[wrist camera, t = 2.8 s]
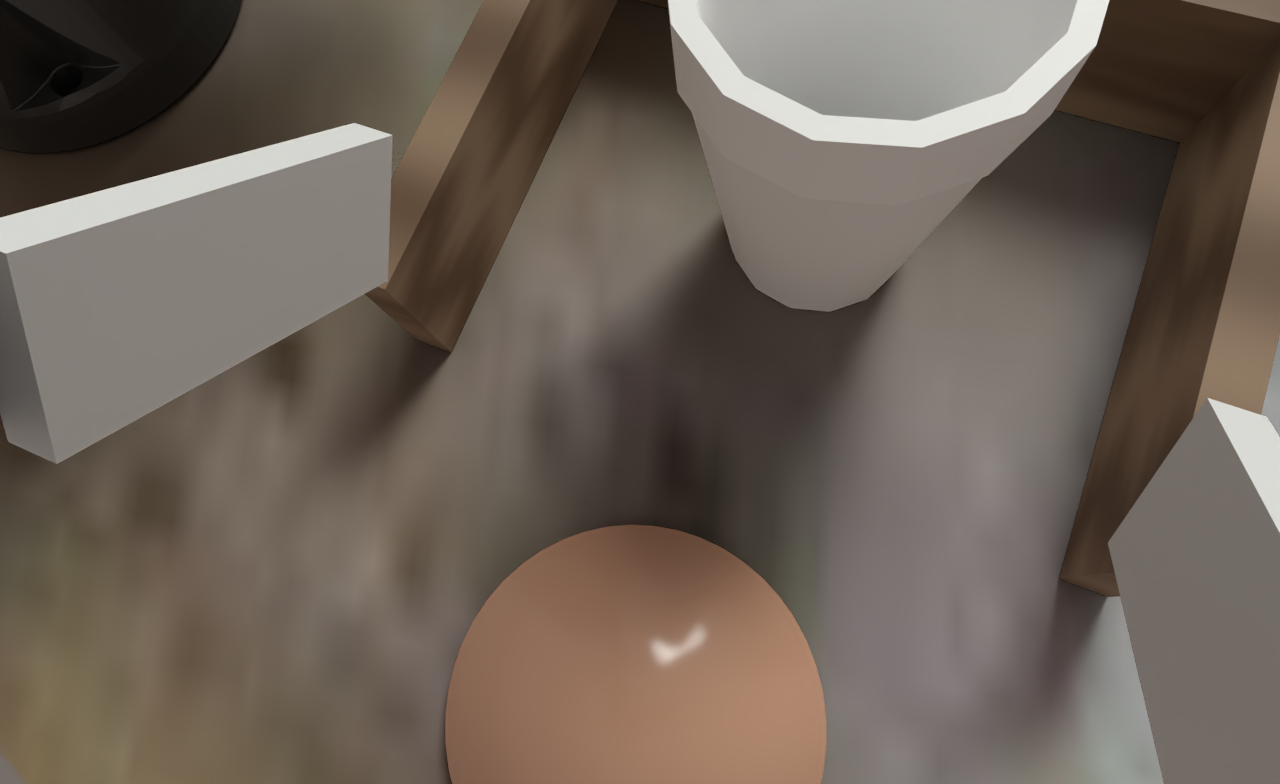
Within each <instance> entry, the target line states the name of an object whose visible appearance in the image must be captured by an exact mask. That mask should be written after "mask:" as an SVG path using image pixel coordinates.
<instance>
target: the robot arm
mask: <svg viewBox="0 0 1280 784" xmlns="http://www.w3.org/2000/svg"><path fill="white" fill-rule="evenodd" d="M240 4H241V0H0V148H3V149H8V150H13V151H19V152H29V153H52V152H62V151H69V150H75V149H79V148H84V147H88V146H91V145H94V144H98V143H101V142H104V141H106V140H109V139H112V138H114V137H117V136H119V135H121V134H124V133H126V132H128V131H130V130H132V129H134V128H136V127H137V126H139V125H141V124H143V123H144V122H146V121H148V120H149V119H151V118H152V117H154V116H155V115H157V114H158V113H160V112H161V111H163V110H164V109H165V108H167V107H168V106H169V105H171V104H172V103H173V102H174V101H175V100H177V99H178V98H179V97H180V96H181V95H182V94H183V93H185V92H186V91H187V90H188V89H189V88H190V87H191V86H192V85H193V84H194V83H195V82H196V81H197V79H198V78H199V77H200V76H201V75H202V74H203V73H204V71H205V70H206V69H207V68H208V67H209V65H210V64H211V62H212V61H213V60H214V58H215V57H216V55H217V54H218V52H219V51H220V49H221V48H222V46H223V44H224V42H225V41H226V39H227V37H228V35H229V33H230V31H231V29H232V27H233V24H234V22H235V19H236V17H237V14H238V11H239V7H240ZM392 138H393V135H390V134H387V133H384V132H381V131H378V130H375V129H372V128H369V127H366V126H362V125H359V124H356V123H352V124H348V125H345V126H341V127H337V128H333V129H330V130H326V131H322V132H318V133H315V134H311V135H307V136H303V137H300V138H296V139H292V140H289V141H285V142H281V143H277V144H274V145H270V146H266V147H262V148H259V149H255V150H251V151H247V152H244V153H240V154H236V155H232V156H229V157H225V158H221V159H217V160H214V161H210V162H206V163H202V164H199V165H195V166H191V167H188V168H184V169H180V170H176V171H173V172H169V173H165V174H161V175H158V176H154V177H150V178H146V179H143V180H139V181H135V182H131V183H128V184H124V185H120V186H116V187H113V188H109V189H105V190H101V191H98V192H94V193H90V194H87V195H83V196H79V197H75V198H72V199H68V200H64V201H60V202H57V203H53V204H49V205H45V206H42V207H38V208H34V209H30V210H27V211H23V212H19V213H15V214H12V215H8V216H4V217H0V415H1V419H2V422H3V426H4V429H5V433H6V437H7V440H8V442H9V443H12V444H14V445H16V446H18V447H20V448H23V449H25V450H27V451H29V452H31V453H33V454H36V455H38V456H40V457H42V458H44V459H47V460H49V461H51V462H53V463H55V464H58V463H60V462H62V461H63V460H65V459H67V458H69V457H71V456H72V455H74V454H76V453H78V452H80V451H81V450H83V449H85V448H87V447H89V446H90V445H92V444H94V443H96V442H98V441H100V440H101V439H103V438H105V437H107V436H109V435H110V434H112V433H114V432H116V431H118V430H119V429H121V428H123V427H125V426H127V425H128V424H130V423H132V422H134V421H136V420H137V419H139V418H141V417H143V416H145V415H146V414H148V413H150V412H152V411H154V410H156V409H157V408H159V407H161V406H163V405H165V404H166V403H168V402H170V401H172V400H174V399H175V398H177V397H179V396H181V395H183V394H184V393H186V392H188V391H190V390H192V389H193V388H195V387H197V386H199V385H201V384H203V383H204V382H206V381H208V380H210V379H212V378H213V377H215V376H217V375H219V374H221V373H222V372H224V371H226V370H228V369H230V368H231V367H233V366H235V365H237V364H239V363H240V362H242V361H244V360H246V359H248V358H249V357H251V356H253V355H255V354H257V353H259V352H260V351H262V350H264V349H266V348H268V347H269V346H271V345H273V344H275V343H277V342H278V341H280V340H282V339H284V338H286V337H287V336H289V335H291V334H293V333H295V332H296V331H298V330H300V329H302V328H304V327H305V326H307V325H309V324H311V323H313V322H315V321H316V320H318V319H320V318H322V317H324V316H325V315H327V314H329V313H331V312H333V311H334V310H336V309H338V308H340V307H342V306H343V305H345V304H347V303H349V302H351V301H352V300H354V299H356V298H358V297H360V296H362V295H363V294H365V293H367V292H369V291H371V290H372V289H374V288H376V287H378V286H380V285H381V284H383V283H385V282H387V281H388V264H389V232H390V201H391V169H392ZM1108 546H1109V550H1110V554H1111V559H1112V563H1113V567H1114V572H1115V576H1116V580H1117V584H1118V589H1119V593H1120V597H1121V602H1122V606H1123V610H1124V614H1125V619H1126V623H1127V627H1128V632H1129V636H1130V640H1131V645H1132V649H1133V653H1134V657H1135V662H1136V666H1137V670H1138V675H1139V679H1140V683H1141V687H1142V692H1143V696H1144V700H1145V705H1146V709H1147V713H1148V717H1149V722H1150V726H1151V730H1152V735H1153V739H1154V743H1155V748H1156V752H1157V756H1158V760H1159V765H1160V769H1161V773H1162V778H1163V782H1164V784H1280V437H1279V435H1278V434H1277V432H1276V431H1275V429H1274V428H1273V426H1272V424H1271V423H1270V421H1269V420H1268V418H1267V417H1266V416H1263V415H1260V414H1256V413H1253V412H1250V411H1247V410H1244V409H1241V408H1238V407H1235V406H1232V405H1228V404H1225V403H1222V402H1219V401H1216V400H1213V399H1210V398H1207V399H1206V400H1205V402H1204V403H1203V405H1202V406H1201V408H1200V409H1199V410H1198V412H1197V413H1196V415H1195V416H1194V418H1193V419H1192V421H1191V422H1190V424H1189V425H1188V426H1187V428H1186V429H1185V431H1184V432H1183V434H1182V435H1181V437H1180V438H1179V440H1178V441H1177V443H1176V444H1175V445H1174V447H1173V448H1172V450H1171V451H1170V453H1169V454H1168V456H1167V457H1166V459H1165V460H1164V462H1163V463H1162V464H1161V466H1160V467H1159V469H1158V470H1157V472H1156V473H1155V475H1154V476H1153V478H1152V479H1151V480H1150V482H1149V483H1148V485H1147V486H1146V488H1145V489H1144V491H1143V492H1142V494H1141V495H1140V497H1139V498H1138V499H1137V501H1136V502H1135V504H1134V505H1133V507H1132V508H1131V510H1130V511H1129V513H1128V514H1127V516H1126V517H1125V518H1124V520H1123V521H1122V523H1121V524H1120V526H1119V527H1118V529H1117V530H1116V532H1115V533H1114V535H1113V536H1112V537H1111V539H1110V540H1109V542H1108Z"/></svg>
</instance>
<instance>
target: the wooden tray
mask: <svg viewBox="0 0 1280 784" xmlns="http://www.w3.org/2000/svg"><path fill="white" fill-rule="evenodd" d="M617 1H618V0H484V1H483V3H482V5H481V7H480V9H479V11H478V13H477V15H476V17H475V18H474V20H473V22H472V24H471V26H470V28H469V30H468V32H467V34H466V36H465V38H464V40H463V42H462V44H461V46H460V47H459V49H458V51H457V53H456V55H455V57H454V59H453V61H452V63H451V65H450V67H449V69H448V71H447V73H446V75H445V77H444V78H443V80H442V82H441V84H440V86H439V88H438V90H437V92H436V94H435V96H434V98H433V100H432V102H431V104H430V106H429V107H428V109H427V111H426V113H425V115H424V117H423V119H422V121H421V123H420V125H419V127H418V129H417V131H416V133H415V135H414V136H413V138H412V140H411V142H410V144H409V146H408V148H407V150H406V152H405V154H404V156H403V158H402V160H401V162H400V164H399V165H398V167H397V169H396V171H395V173H394V175H393V177H392V179H391V201H390V232H389V264H388V281H387V282H385V283H383V284H381V285H380V286H378V287H376V288H374V289H372V290H371V291H369V292H367V293H365V294H366V295H367V296H368V297H369V298H370V299H371V300H372V301H373V302H375V303H376V304H377V305H378V306H379V307H380V308H381V309H382V310H384V311H385V312H386V313H387V314H388V315H389V316H390V317H391V318H393V319H394V320H395V321H396V322H397V323H398V324H399V325H400V326H402V327H403V328H404V329H405V330H406V331H407V332H408V333H409V334H411V335H412V336H413V337H414V338H415V339H417V340H419V341H422V342H425V343H427V344H430V345H433V346H435V347H438V348H441V349H443V350H446V351H449V352H452V350H453V348H454V345H455V343H456V341H457V339H458V337H459V335H460V333H461V331H462V329H463V326H464V324H465V322H466V320H467V318H468V316H469V314H470V312H471V310H472V307H473V305H474V303H475V301H476V299H477V297H478V295H479V293H480V291H481V288H482V286H483V284H484V282H485V280H486V278H487V276H488V274H489V272H490V269H491V267H492V265H493V263H494V261H495V259H496V257H497V255H498V253H499V250H500V248H501V246H502V244H503V242H504V240H505V238H506V236H507V233H508V231H509V229H510V227H511V225H512V223H513V221H514V219H515V217H516V214H517V212H518V210H519V208H520V206H521V204H522V202H523V200H524V198H525V195H526V193H527V191H528V189H529V187H530V185H531V183H532V181H533V179H534V176H535V174H536V172H537V170H538V168H539V166H540V164H541V162H542V160H543V157H544V155H545V153H546V151H547V149H548V147H549V145H550V143H551V141H552V138H553V136H554V134H555V132H556V130H557V128H558V126H559V124H560V121H561V119H562V117H563V115H564V113H565V111H566V109H567V107H568V105H569V102H570V100H571V98H572V96H573V94H574V92H575V90H576V88H577V86H578V83H579V81H580V79H581V77H582V75H583V73H584V71H585V69H586V67H587V64H588V62H589V60H590V58H591V56H592V54H593V52H594V50H595V48H596V45H597V43H598V41H599V39H600V37H601V35H602V33H603V31H604V29H605V26H606V24H607V22H608V20H609V18H610V16H611V14H612V12H613V9H614V7H615V5H616V3H617ZM637 1H641V2H645V3H649V4H652V5H656V6H660V7H664V8H668V0H637ZM1055 110H1057V111H1061V112H1065V113H1069V114H1073V115H1076V116H1080V117H1084V118H1088V119H1092V120H1096V121H1099V122H1103V123H1107V124H1111V125H1115V126H1118V127H1122V128H1126V129H1130V130H1134V131H1138V132H1141V133H1145V134H1149V135H1153V136H1157V137H1160V138H1164V139H1168V140H1172V141H1176V142H1180V143H1179V147H1178V150H1177V154H1176V158H1175V161H1174V165H1173V168H1172V172H1171V176H1170V179H1169V183H1168V186H1167V190H1166V194H1165V197H1164V201H1163V204H1162V208H1161V212H1160V215H1159V219H1158V223H1157V226H1156V230H1155V233H1154V237H1153V241H1152V244H1151V248H1150V251H1149V255H1148V259H1147V262H1146V266H1145V270H1144V273H1143V277H1142V280H1141V284H1140V288H1139V291H1138V295H1137V298H1136V302H1135V306H1134V309H1133V313H1132V317H1131V320H1130V324H1129V327H1128V331H1127V335H1126V338H1125V342H1124V345H1123V349H1122V353H1121V356H1120V360H1119V364H1118V367H1117V371H1116V374H1115V378H1114V382H1113V385H1112V389H1111V392H1110V396H1109V400H1108V403H1107V407H1106V410H1105V414H1104V418H1103V421H1102V425H1101V429H1100V432H1099V436H1098V439H1097V443H1096V447H1095V450H1094V454H1093V457H1092V461H1091V465H1090V468H1089V472H1088V476H1087V479H1086V483H1085V486H1084V490H1083V494H1082V497H1081V501H1080V504H1079V508H1078V512H1077V515H1076V519H1075V523H1074V526H1073V530H1072V533H1071V537H1070V541H1069V544H1068V548H1067V551H1066V555H1065V559H1064V562H1063V566H1062V570H1061V573H1060V577H1059V579H1062V580H1064V581H1067V582H1070V583H1072V584H1075V585H1078V586H1080V587H1083V588H1086V589H1088V590H1091V591H1094V592H1097V593H1099V594H1102V595H1105V596H1107V597H1113V596H1120V593H1119V589H1118V584H1117V580H1116V576H1115V572H1114V567H1113V563H1112V559H1111V554H1110V550H1109V546H1108V542H1109V540H1110V539H1111V537H1112V536H1113V535H1114V533H1115V532H1116V530H1117V529H1118V527H1119V526H1120V524H1121V523H1122V521H1123V520H1124V518H1125V517H1126V516H1127V514H1128V513H1129V511H1130V510H1131V508H1132V507H1133V505H1134V504H1135V502H1136V501H1137V499H1138V498H1139V497H1140V495H1141V494H1142V492H1143V491H1144V489H1145V488H1146V486H1147V485H1148V483H1149V482H1150V480H1151V479H1152V478H1153V476H1154V475H1155V473H1156V472H1157V470H1158V469H1159V467H1160V466H1161V464H1162V463H1163V462H1164V460H1165V459H1166V457H1167V456H1168V454H1169V453H1170V451H1171V450H1172V448H1173V447H1174V445H1175V444H1176V443H1177V441H1178V440H1179V438H1180V437H1181V435H1182V434H1183V432H1184V431H1185V429H1186V428H1187V426H1188V425H1189V424H1190V422H1191V421H1192V419H1193V418H1194V416H1195V415H1196V413H1197V412H1198V410H1199V409H1200V408H1201V406H1202V405H1203V403H1204V402H1205V400H1206V399H1207V398H1210V399H1213V400H1216V401H1219V402H1222V403H1225V404H1228V405H1232V406H1235V407H1238V408H1241V409H1244V410H1247V411H1250V412H1253V413H1256V414H1260V415H1261V412H1262V408H1263V404H1264V400H1265V395H1266V391H1267V387H1268V382H1269V378H1270V374H1271V369H1272V365H1273V361H1274V356H1275V352H1276V348H1277V343H1278V339H1279V335H1280V0H1109V4H1108V7H1107V11H1106V14H1105V17H1104V21H1103V24H1102V28H1101V31H1100V35H1099V38H1098V41H1097V45H1096V47H1095V48H1094V50H1093V51H1092V53H1091V54H1090V56H1089V57H1088V59H1087V60H1086V62H1085V64H1084V65H1083V67H1082V68H1081V70H1080V71H1079V73H1078V74H1077V76H1076V77H1075V79H1074V80H1073V82H1072V84H1071V85H1070V87H1069V88H1068V90H1067V91H1066V93H1065V94H1064V96H1063V97H1062V99H1061V101H1060V102H1059V104H1058V105H1057V107H1056V108H1055Z"/></svg>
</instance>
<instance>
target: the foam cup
mask: <svg viewBox="0 0 1280 784" xmlns="http://www.w3.org/2000/svg"><path fill="white" fill-rule="evenodd" d="M1108 4H1109V0H668V9H669V19H670V28H671V38H672V47H673V56H674V66H675V75H676V85H677V93H678V94H679V95H680V97H681V98H682V99H683V101H684V102H685V104H686V105H687V106H688V108H689V109H690V111H691V112H692V115H693V118H694V122H695V125H696V129H697V132H698V135H699V139H700V142H701V146H702V149H703V153H704V156H705V159H706V163H707V166H708V170H709V173H710V176H711V180H712V183H713V187H714V190H715V193H716V197H717V200H718V204H719V207H720V211H721V214H722V217H723V221H724V224H725V228H726V231H727V234H728V238H729V241H730V245H731V248H732V252H733V253H734V255H735V259H736V261H737V262H738V264H739V265H740V267H741V268H742V270H743V271H744V272H745V274H746V275H747V277H748V278H749V280H750V281H751V283H752V284H753V285H754V287H755V288H756V289H757V290H759V291H761V292H762V293H764V294H766V295H768V296H769V297H771V298H773V299H775V300H776V301H778V302H780V303H782V304H784V305H785V306H787V307H789V308H795V309H806V310H816V311H826V312H831V311H834V310H837V309H840V308H843V307H846V306H849V305H852V304H855V303H858V302H861V301H864V300H867V299H868V298H869V297H870V296H871V295H872V294H873V293H874V292H875V291H876V290H878V289H879V288H880V287H881V286H882V285H883V284H884V283H885V282H886V281H887V280H888V279H889V278H890V277H891V276H892V275H893V274H894V273H895V272H896V271H897V270H898V269H899V268H900V267H901V266H902V265H903V264H904V263H905V262H906V261H907V260H908V259H909V257H910V256H911V255H912V254H913V253H914V252H915V251H916V250H917V249H918V248H919V247H920V245H921V244H922V243H923V242H924V241H925V240H926V239H927V238H928V237H929V236H930V234H931V233H932V232H933V231H934V230H935V229H936V228H937V227H938V226H939V225H940V223H941V222H942V221H943V220H944V219H945V218H946V217H947V216H948V215H949V214H950V213H951V211H952V210H953V209H954V208H955V207H956V206H957V205H958V204H959V203H960V202H961V200H962V199H963V198H964V197H965V196H966V195H967V194H968V193H969V192H970V191H971V190H972V188H973V187H974V186H975V185H976V184H977V183H978V182H979V181H980V180H981V179H982V177H985V176H988V175H989V174H990V173H991V172H992V171H993V170H994V169H995V168H996V167H997V166H998V165H999V164H1001V163H1002V162H1003V161H1004V160H1005V159H1006V158H1007V157H1008V156H1009V155H1010V154H1011V153H1012V152H1013V151H1014V150H1015V149H1016V148H1017V147H1018V146H1019V145H1020V144H1021V143H1022V142H1023V141H1025V140H1026V139H1027V138H1028V137H1029V136H1030V135H1031V134H1032V133H1033V132H1034V131H1035V130H1036V129H1037V128H1038V127H1039V126H1040V125H1041V124H1042V123H1043V122H1044V121H1045V120H1046V119H1048V118H1049V117H1050V116H1051V114H1052V113H1053V111H1054V110H1055V108H1056V107H1057V105H1058V104H1059V102H1060V101H1061V99H1062V97H1063V96H1064V94H1065V93H1066V91H1067V90H1068V88H1069V87H1070V85H1071V84H1072V82H1073V80H1074V79H1075V77H1076V76H1077V74H1078V73H1079V71H1080V70H1081V68H1082V67H1083V65H1084V64H1085V62H1086V60H1087V59H1088V57H1089V56H1090V54H1091V53H1092V51H1093V50H1094V48H1095V47H1096V45H1097V41H1098V38H1099V35H1100V31H1101V28H1102V24H1103V21H1104V17H1105V14H1106V11H1107V7H1108Z"/></svg>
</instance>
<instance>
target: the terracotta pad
mask: <svg viewBox="0 0 1280 784" xmlns="http://www.w3.org/2000/svg"><path fill="white" fill-rule="evenodd" d="M445 744H446V752H447V760H448V768H449V773H450V777H451V781H452V784H821V780H822V776H823V770H824V762H825V754H826V712H825V704H824V696H823V690H822V686H821V682H820V678H819V674H818V670H817V666H816V663H815V661H814V658H813V656H812V653H811V651H810V648H809V645H808V643H807V640H806V638H805V637H804V635H803V633H802V631H801V629H800V627H799V625H798V624H797V622H796V620H795V618H794V616H793V615H792V614H791V612H790V611H789V609H788V608H787V607H786V605H785V604H784V602H783V601H782V600H781V598H780V597H779V595H778V594H777V593H776V592H775V591H774V590H773V589H772V588H771V587H770V586H769V585H768V584H767V582H766V581H765V580H764V579H763V578H762V577H761V576H760V575H759V574H757V573H756V572H755V571H754V570H753V569H751V568H750V567H749V566H748V565H747V564H745V563H744V562H743V561H742V560H740V559H739V558H737V557H735V556H734V555H732V554H731V553H729V552H728V551H726V550H725V549H723V548H721V547H719V546H717V545H715V544H713V543H711V542H709V541H707V540H705V539H702V538H700V537H697V536H694V535H691V534H688V533H685V532H682V531H679V530H675V529H669V528H663V527H658V526H648V525H621V526H609V527H603V528H599V529H594V530H590V531H585V532H582V533H579V534H577V535H574V536H571V537H568V538H566V539H563V540H561V541H559V542H557V543H555V544H553V545H551V546H549V547H547V548H545V549H544V550H542V551H540V552H539V553H537V554H536V555H534V556H533V557H531V558H530V559H529V560H527V561H526V562H524V563H523V564H522V565H520V566H519V567H518V568H517V569H516V570H515V571H514V572H513V573H512V574H510V575H509V576H508V577H507V578H506V579H505V580H504V581H503V582H502V583H501V584H500V585H499V587H498V588H497V589H496V590H495V591H494V592H493V594H492V595H491V596H490V597H489V598H488V600H487V601H486V603H485V604H484V606H483V607H482V609H481V610H480V612H479V613H478V615H477V616H476V617H475V619H474V621H473V623H472V625H471V627H470V629H469V631H468V633H467V635H466V637H465V639H464V641H463V643H462V646H461V648H460V651H459V654H458V657H457V659H456V662H455V665H454V668H453V673H452V677H451V681H450V685H449V690H448V697H447V706H446V715H445Z"/></svg>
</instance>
